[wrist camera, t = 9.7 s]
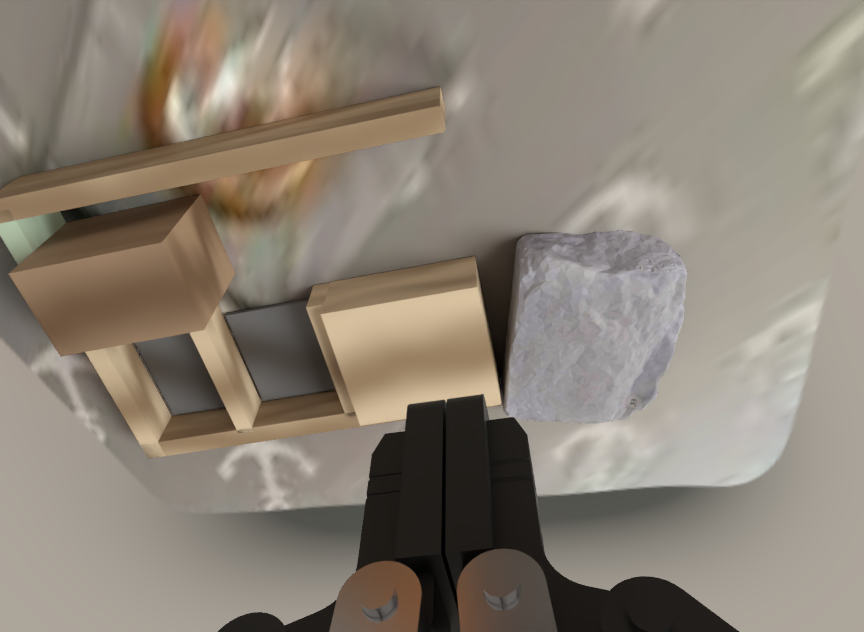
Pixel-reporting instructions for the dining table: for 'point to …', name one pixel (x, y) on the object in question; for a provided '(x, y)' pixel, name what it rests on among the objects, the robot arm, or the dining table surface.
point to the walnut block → (127, 276)
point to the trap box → (286, 322)
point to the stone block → (590, 325)
